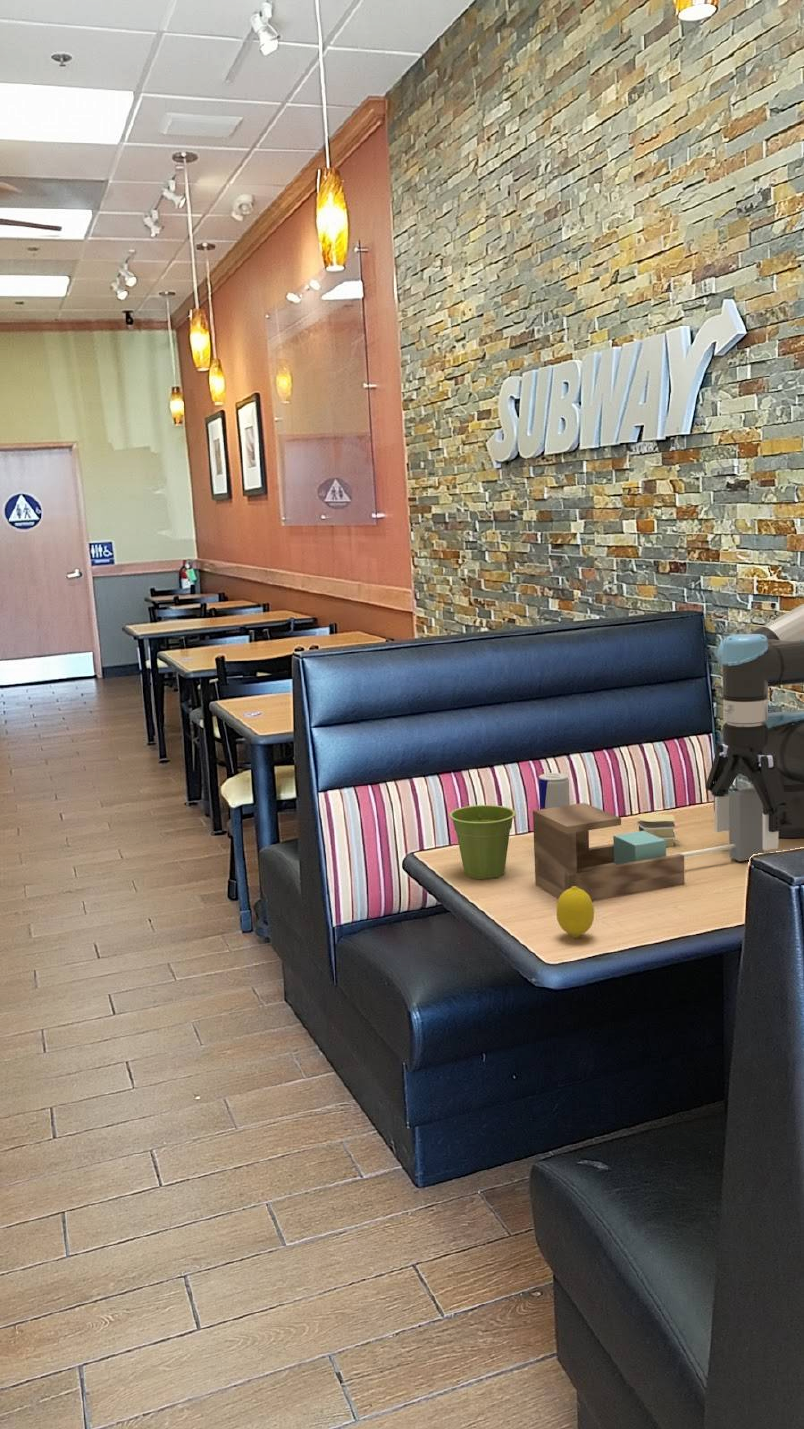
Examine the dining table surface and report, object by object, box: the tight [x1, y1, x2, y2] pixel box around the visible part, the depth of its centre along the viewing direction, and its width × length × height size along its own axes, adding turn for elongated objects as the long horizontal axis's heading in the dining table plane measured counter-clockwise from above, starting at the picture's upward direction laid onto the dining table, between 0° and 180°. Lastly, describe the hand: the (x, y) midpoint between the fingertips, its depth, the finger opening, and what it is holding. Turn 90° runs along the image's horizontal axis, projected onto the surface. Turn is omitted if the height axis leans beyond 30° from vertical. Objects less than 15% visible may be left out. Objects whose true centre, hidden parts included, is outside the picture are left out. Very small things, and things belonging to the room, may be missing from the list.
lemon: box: [555, 886, 595, 939], centre depth 164 cm, size 6×6×8 cm
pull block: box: [612, 787, 764, 865], centre depth 193 cm, size 28×7×12 cm, turn 110°
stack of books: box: [636, 813, 677, 848], centre depth 210 cm, size 10×9×6 cm
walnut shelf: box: [532, 802, 685, 902], centre depth 187 cm, size 22×12×13 cm, turn 110°
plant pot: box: [448, 804, 517, 880], centre depth 197 cm, size 12×12×11 cm
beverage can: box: [538, 772, 571, 810], centre depth 207 cm, size 6×6×15 cm
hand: (745, 839), depth 197 cm, fingers open, 13 cm apart
